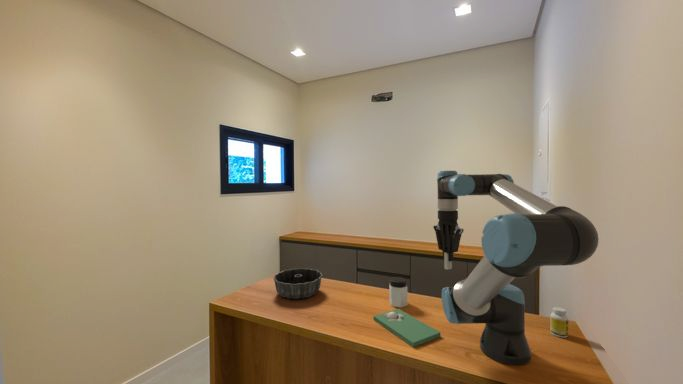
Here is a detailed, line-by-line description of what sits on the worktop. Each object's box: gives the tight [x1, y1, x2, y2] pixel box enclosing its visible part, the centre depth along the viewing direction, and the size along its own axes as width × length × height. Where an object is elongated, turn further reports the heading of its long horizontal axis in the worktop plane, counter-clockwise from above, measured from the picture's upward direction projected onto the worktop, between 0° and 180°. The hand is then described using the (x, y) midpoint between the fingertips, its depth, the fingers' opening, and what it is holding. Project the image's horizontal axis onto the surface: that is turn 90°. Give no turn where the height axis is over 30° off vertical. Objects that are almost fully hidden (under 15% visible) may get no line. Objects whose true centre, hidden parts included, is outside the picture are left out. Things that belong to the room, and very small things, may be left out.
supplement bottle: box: [549, 306, 569, 339], centre depth 106 cm, size 5×5×10 cm
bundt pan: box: [273, 267, 323, 300], centre depth 152 cm, size 26×26×10 cm
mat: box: [373, 308, 441, 348], centre depth 113 cm, size 24×14×2 cm, turn 29°
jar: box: [388, 276, 409, 309], centre depth 136 cm, size 9×8×12 cm
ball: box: [389, 312, 397, 319], centre depth 119 cm, size 4×4×4 cm
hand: (448, 268), depth 111 cm, fingers closed
